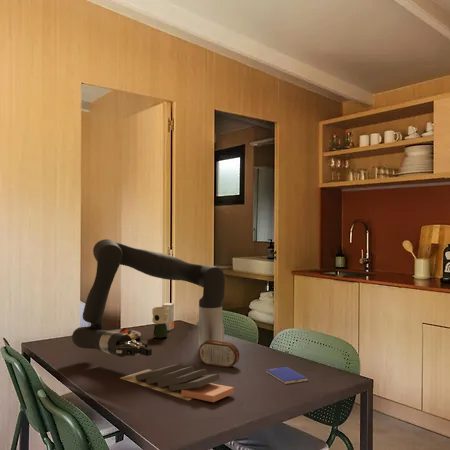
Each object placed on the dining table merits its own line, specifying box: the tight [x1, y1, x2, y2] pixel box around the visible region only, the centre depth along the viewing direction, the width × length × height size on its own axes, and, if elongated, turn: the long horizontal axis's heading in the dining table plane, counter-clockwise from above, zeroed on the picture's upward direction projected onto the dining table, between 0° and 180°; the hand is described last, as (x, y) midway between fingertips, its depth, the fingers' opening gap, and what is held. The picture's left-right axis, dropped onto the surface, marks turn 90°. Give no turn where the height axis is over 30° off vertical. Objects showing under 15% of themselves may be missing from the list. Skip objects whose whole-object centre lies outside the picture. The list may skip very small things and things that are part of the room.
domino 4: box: [169, 373, 220, 391], centre depth 137 cm, size 2×9×12 cm
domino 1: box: [135, 362, 184, 381], centre depth 147 cm, size 2×9×12 cm
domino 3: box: [157, 368, 207, 388], centre depth 140 cm, size 2×9×12 cm
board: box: [120, 368, 194, 401], centre depth 145 cm, size 30×12×1 cm, turn 51°
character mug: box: [151, 306, 169, 339], centre depth 207 cm, size 11×7×13 cm, turn 39°
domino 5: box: [181, 382, 235, 403], centre depth 134 cm, size 2×9×12 cm
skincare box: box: [161, 302, 175, 331], centre depth 224 cm, size 6×4×12 cm
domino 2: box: [146, 365, 195, 384], centre depth 143 cm, size 2×9×12 cm
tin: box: [198, 340, 240, 368], centre depth 166 cm, size 15×3×8 cm, turn 65°
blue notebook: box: [266, 366, 309, 385], centre depth 154 cm, size 2×8×12 cm
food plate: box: [105, 327, 142, 341], centre depth 203 cm, size 25×23×4 cm
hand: (149, 352), depth 149 cm, fingers closed
